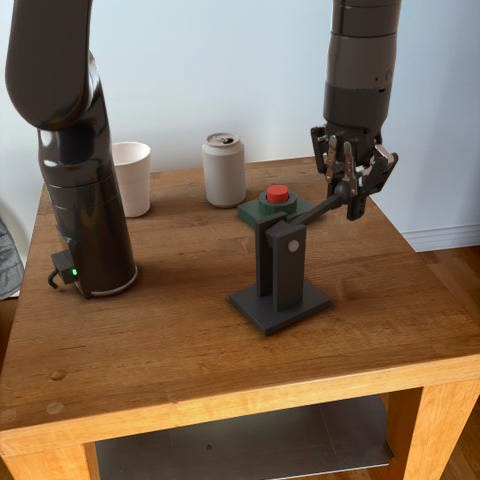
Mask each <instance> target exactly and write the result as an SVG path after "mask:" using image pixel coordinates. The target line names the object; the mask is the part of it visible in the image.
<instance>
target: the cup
mask: <svg viewBox="0 0 480 480" xmlns="http://www.w3.org/2000/svg"><path fill="white" fill-rule="evenodd" d="M112 154H113V160H114V165H115V170H116V174H117V179H118V184H119V189H120V194H121V198H122V203H123V208H124V213H125V217H126V218H136V217H141V216H142V215H144V214H146V213H147V212H148V211H149V209H150V207H151V191H150V190H151V154H152V148H151V147H150V146H149V145H148V144H145V143H143V142H138V141H122V142H120V141H119V142H114V143H112Z"/></svg>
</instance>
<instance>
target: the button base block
mask: <svg viewBox="0 0 480 480" xmlns="http://www.w3.org/2000/svg"><path fill="white" fill-rule="evenodd" d="M315 206H316V205H315V204H314V203H312V202H310V201H309V200H307V199H306V198H304V197H303V196H301V195H299V194H298V193H295V192H294V191H292V190H291V189H289V188H288V200H287V201H285V202H282V203H274V202H269V201H268V200H267V190H263V191H262V192H261V193H260V194H259V195H258V197H257V198H256V199H252V200H249V201H247V202H243V203H240V204H238V205H237V217H238V218H239V219H241V220H242V221H243V222H245V223H246V224H247V225H249V226H250V227H251V228H253V229H254V230H255V221H256V220H259V219H262V218H265V217H268V216H270V215H273V214H276V213H279V212H282V211H284V212H285V213H287V224H289V223H291V222H293V221H294V220H296V219H297V218H299V217H300V216H302V215H303V214H305V213H306V212H308V211H309V210H311V209H312V208H314V207H315Z"/></svg>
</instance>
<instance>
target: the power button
mask: <svg viewBox="0 0 480 480" xmlns="http://www.w3.org/2000/svg"><path fill="white" fill-rule="evenodd" d="M288 189H289V188H288V187H287V186H285V185H280V184H275V185H271V186H269V187H268V188H267V200H268V201H269V202H274V203H282V202H285V201H287V200H288Z"/></svg>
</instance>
